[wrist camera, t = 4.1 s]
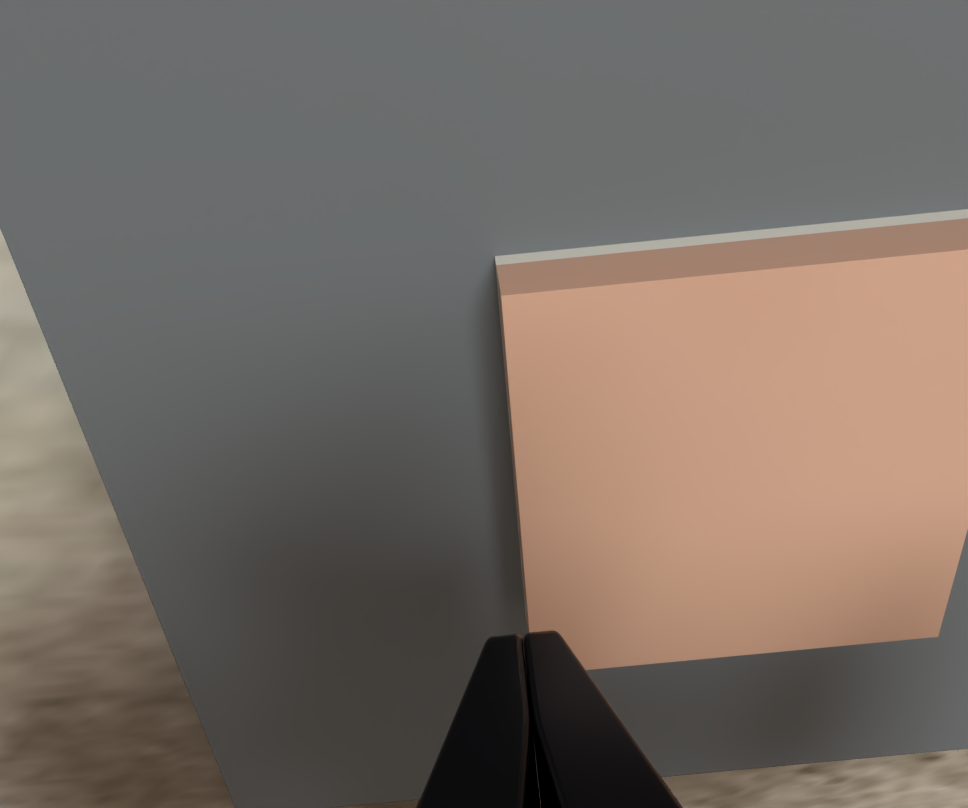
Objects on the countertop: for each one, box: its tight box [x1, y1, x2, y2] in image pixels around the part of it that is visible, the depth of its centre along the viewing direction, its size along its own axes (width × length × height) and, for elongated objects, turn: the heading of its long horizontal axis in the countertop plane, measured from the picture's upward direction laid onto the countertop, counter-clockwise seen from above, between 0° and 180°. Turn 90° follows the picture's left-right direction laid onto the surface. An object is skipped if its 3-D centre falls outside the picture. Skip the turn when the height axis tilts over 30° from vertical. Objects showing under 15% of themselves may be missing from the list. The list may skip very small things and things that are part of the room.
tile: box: [495, 209, 968, 670], centre depth 12 cm, size 7×2×7 cm
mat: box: [0, 0, 968, 808], centre depth 13 cm, size 18×18×1 cm
